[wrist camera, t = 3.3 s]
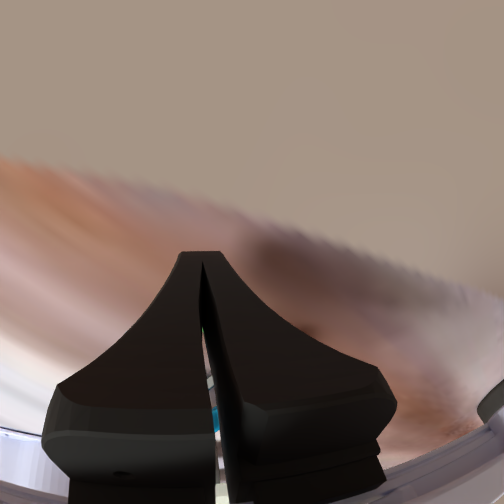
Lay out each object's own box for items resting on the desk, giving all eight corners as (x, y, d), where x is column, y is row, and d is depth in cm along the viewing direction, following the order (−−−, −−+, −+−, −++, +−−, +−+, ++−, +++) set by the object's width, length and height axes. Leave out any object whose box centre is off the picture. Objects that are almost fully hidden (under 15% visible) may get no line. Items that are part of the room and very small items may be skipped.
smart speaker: (471, 416, 38) (482, 433, 34) (478, 396, 33) (491, 416, 30) (510, 386, 37) (522, 401, 33) (521, 361, 32) (535, 379, 29)
